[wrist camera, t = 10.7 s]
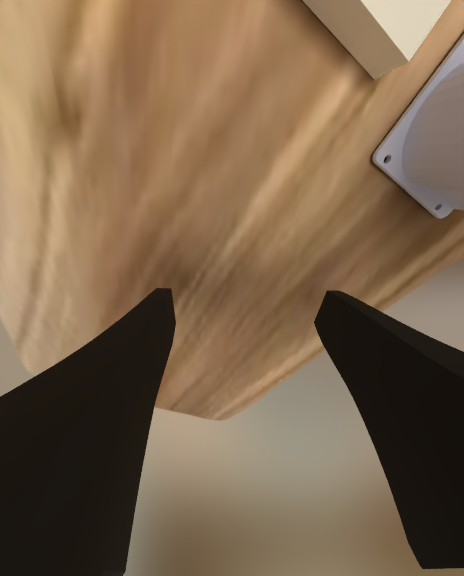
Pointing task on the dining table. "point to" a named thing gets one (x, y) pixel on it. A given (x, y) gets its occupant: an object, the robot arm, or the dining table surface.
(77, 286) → the dining table surface
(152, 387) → the robot arm
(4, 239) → the dining table surface
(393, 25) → the socket board
